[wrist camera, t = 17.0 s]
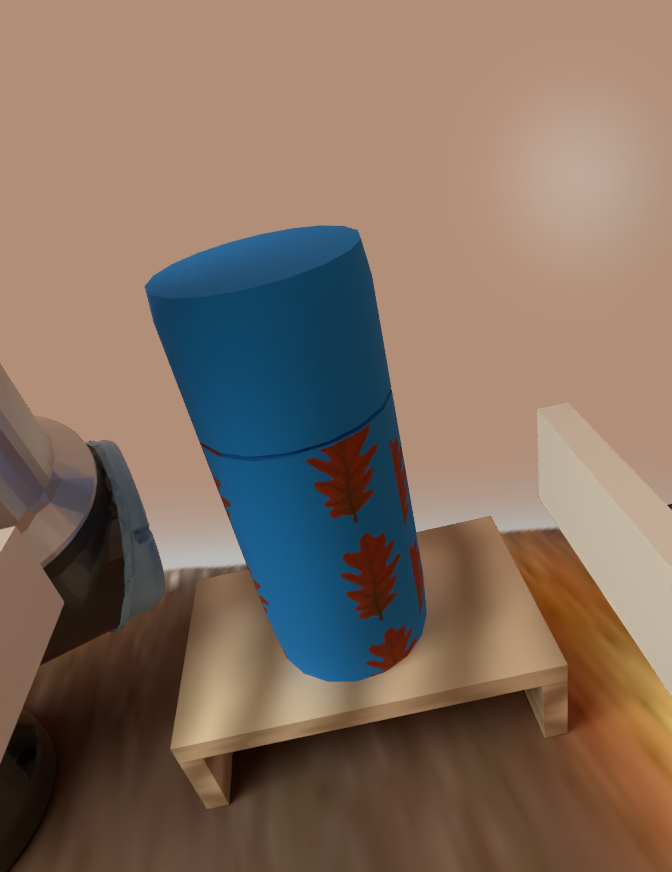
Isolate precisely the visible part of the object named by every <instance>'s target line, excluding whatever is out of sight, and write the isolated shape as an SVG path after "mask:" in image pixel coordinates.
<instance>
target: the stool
mask: <svg viewBox="0 0 672 872" xmlns="http://www.w3.org/2000/svg"><path fill="white" fill-rule="evenodd" d="M416 534H417V540H418V546H419V552H420V558H421V563H422V569H423V577H424V588H425V599H426V609H427V615H426V619H425V624H424V628H423V633H422V636H421V637H420V639H419V640H418V641H417V643H416V644H415V646H414V647H413V649H412V650H411V651H410V653H409V654H408V656H407V657H405V658H404V659H402V660H401V661H400V662H398V663H397V664H395V665H394V666H393V667H391V668H390V669H388V670H387V671H386V672H384V673H381V674H378V675H375V676H372V677H369V678H366V679H363V680H360V681H356V682H327V681H324V680H322V679H319V678H316V677H313V676H310V675H307V674H304V673H303V672H302V671H300V670H299V669H298V668H297V667H296V666H295V665H294V664H293V663H291V662H290V661H289V660H288V659H287V658H286V656H285V654H284V652H283V649H282V647H281V645H280V643H279V641H278V639H277V637H276V635H275V633H274V631H273V629H272V626H271V624H270V622H269V620H268V618H267V615H266V613H265V610H264V608H263V605H262V603H261V600H260V598H259V595H258V593H257V590H256V587H255V585H254V582H253V580H252V577H251V574H250V572H249V569H248V570H243V571H238V572H234V573H229V574H225V575H220V576H216V577H211V578H207V579H202V580H197V584H196V591H195V597H194V603H193V609H192V616H191V622H190V628H189V635H188V641H187V647H186V653H185V660H184V666H183V672H182V679H181V685H180V691H179V697H178V704H177V710H176V716H175V723H174V729H173V735H172V741H171V748H170V750H171V751H172V753H173V755H174V756H175V758H176V760H177V761H178V763H179V764H180V766H181V768H182V769H183V771H184V773H185V774H186V776H187V777H188V779H189V781H190V782H191V784H192V785H193V787H194V789H195V790H196V792H197V794H198V795H199V797H200V798H201V800H202V802H203V803H204V805H205V807H206V808H207V809H211V808H215V807H220V806H225V805H229V802H230V786H231V771H232V755H233V752H234V751H239V750H243V749H248V748H253V747H257V746H262V745H267V744H272V743H276V742H281V741H286V740H290V739H295V738H300V737H305V736H309V735H314V734H319V733H323V732H328V731H333V730H338V729H342V728H347V727H352V726H356V725H361V724H366V723H371V722H375V721H380V720H385V719H389V718H394V717H399V716H403V715H408V714H413V713H418V712H422V711H427V710H432V709H436V708H441V707H446V706H451V705H455V704H460V703H465V702H469V701H474V700H479V699H484V698H488V697H493V696H498V695H502V694H507V693H512V692H517V691H521V690H524V691H525V693H526V695H527V698H528V700H529V702H530V705H531V707H532V710H533V712H534V714H535V717H536V719H537V721H538V724H539V726H540V728H541V731H542V733H543V736H544V738H548V737H553V736H558V735H563V734H567V730H568V664H567V662H566V660H565V658H564V656H563V654H562V652H561V650H560V648H559V647H558V645H557V643H556V641H555V639H554V637H553V635H552V633H551V631H550V629H549V627H548V625H547V623H546V621H545V620H544V618H543V616H542V614H541V612H540V610H539V608H538V606H537V604H536V602H535V600H534V598H533V596H532V594H531V593H530V591H529V589H528V587H527V585H526V583H525V581H524V579H523V577H522V575H521V573H520V571H519V569H518V567H517V565H516V564H515V562H514V560H513V558H512V556H511V554H510V552H509V550H508V548H507V546H506V544H505V542H504V540H503V538H502V537H501V535H500V533H499V531H498V529H497V527H496V525H495V523H494V521H493V519H492V517H491V516H489V517H484V518H480V519H475V520H471V521H466V522H461V523H457V524H452V525H448V526H444V527H439V528H434V529H429V530H425V531H421V532H416Z"/></svg>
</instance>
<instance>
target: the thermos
mask: <svg viewBox="0 0 672 872" xmlns="http://www.w3.org/2000/svg"><path fill="white" fill-rule="evenodd" d="M145 289H146V293H147V297H148V301H149V305H150V309H151V314H152V317H153V322H154V324H155V327H156V330H157V332H158V335H159V337H160V340H161V342H162V345H163V348H164V351H165V353H166V356H167V358H168V361H169V364H170V366H171V369H172V371H173V374H174V376H175V379H176V382H177V384H178V387H179V389H180V392H181V395H182V397H183V400H184V403H185V405H186V408H187V410H188V413H189V416H190V418H191V421H192V423H193V426H194V428H195V431H196V434H197V436H198V439H199V441H200V444H201V447H202V449H203V452H204V454H205V457H206V460H207V462H208V465H209V468H210V470H211V473H212V475H213V478H214V480H215V483H216V486H217V489H218V491H219V493H220V496H221V499H222V502H223V504H224V507H225V509H226V512H227V514H228V517H229V520H230V522H231V525H232V527H233V530H234V533H235V535H236V538H237V541H238V543H239V546H240V548H241V551H242V553H243V556H244V559H245V561H246V564H247V567H248V569H249V572H250V574H251V577H252V580H253V582H254V585H255V587H256V590H257V593H258V595H259V598H260V600H261V603H262V605H263V608H264V610H265V613H266V615H267V618H268V620H269V622H270V624H271V626H272V629H273V631H274V633H275V635H276V637H277V639H278V641H279V643H280V645H281V647H282V649H283V652H284V654H285V656H286V658H287V659H288V660H289V661H290V662H291V663H293V664H294V665H295V666H296V667H297V668H298V669H299V670H300V671H302V672H303V673H304V674H307V675H310V676H313V677H316V678H319V679H322V680H324V681H327V682H356V681H360V680H363V679H366V678H369V677H372V676H375V675H378V674H381V673H384V672H386V671H387V670H388V669H390V668H391V667H393V666H394V665H395V664H397V663H398V662H400V661H401V660H402V659H404V658H405V657H407V656H408V654H409V653H410V651H411V650H412V649H413V647H414V646H415V644H416V643H417V641H418V640H419V639H420V637H421V636H422V633H423V628H424V624H425V619H426V615H427V609H426V599H425V588H424V577H423V569H422V563H421V558H420V552H419V546H418V540H417V534H416V529H415V523H414V517H413V511H412V505H411V499H410V494H409V488H408V482H407V476H406V471H405V465H404V459H403V453H402V447H401V441H400V436H399V430H398V424H397V418H396V412H395V407H394V401H393V395H392V390H391V383H390V378H389V372H388V366H387V360H386V355H385V349H384V343H383V337H382V331H381V325H380V320H379V314H378V308H377V302H376V296H375V290H374V285H373V279H372V274H371V271H370V267H369V264H368V261H367V257H366V254H365V251H364V248H363V244H362V241H361V238H360V235H359V232H358V230H355V229H351V228H348V227H345V226H312V227H302V228H293V229H287V230H282V231H277V232H271V233H266V234H260V235H256V236H253V237H249V238H245V239H241V240H237V241H233V242H229V243H227V244H223V245H220V246H218V247H214V248H211V249H208V250H206V251H202V252H199V253H197V254H194V255H192V256H190V257H188V258H185V259H183V260H181V261H178V262H176V263H174V264H172V265H170V266H168V267H167V268H165V269H164V270H162V271H160V272H159V273H157V274H155V275H154V276H153V277H152V278H151V279H150V280H149V282H148V283H147V284H146V285H145Z"/></svg>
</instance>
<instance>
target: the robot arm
mask: <svg viewBox="0 0 672 872" xmlns="http://www.w3.org/2000/svg"><path fill="white" fill-rule="evenodd" d="M537 432H538V433H537V438H538V486H539V487H538V488H539V489H538V491H539V499H540V500H541V502H542V503H543V505H544V506H545V507H546V509H547V511H548V512H549V513H550V515H551V516H552V518H553V519H554V521H555V523H556V524H557V526H558V527H559V529H560V530H561V532H562V533H563V535H564V536H565V538H566V539H567V541H568V542H569V544H570V545H571V547H572V548H573V550H574V551H575V553H576V554H577V556H578V557H579V559H580V560H581V562H582V563H583V565H584V566H585V568H586V569H587V571H588V572H589V574H590V575H591V577H592V578H593V580H594V581H595V583H596V584H597V586H598V587H599V589H600V590H601V592H602V593H603V595H604V596H605V598H606V599H607V601H608V602H609V604H610V605H611V607H612V608H613V610H614V611H615V613H616V614H617V616H618V617H619V619H620V620H621V622H622V623H623V625H624V626H625V628H626V629H627V631H628V632H629V634H630V635H631V637H632V638H633V640H634V641H635V643H636V644H637V646H638V647H639V649H640V650H641V652H642V653H643V655H644V656H645V658H646V659H647V661H648V662H649V664H650V665H651V667H652V668H653V670H654V671H655V673H656V674H657V676H658V677H659V679H660V680H661V682H662V683H663V685H664V686H665V688H666V689H667V691H668V692H669V694H670V695H671V697H672V504H670V505H666V504H665V503H664V501H663V500H661V498H660V497H659V496H658V495H657V494H656V493H655V492H654V491H653V490H652V489H651V488H650V487H649V486H648V485H647V484H646V483H645V482H644V481H643V480H642V479H641V478H640V477H639V476H638V475H637V474H636V473H635V471H634V470H633V469H632V468H631V467H630V466H629V465H628V464H627V463H626V462H625V461H624V460H623V459H622V458H621V457H620V456H619V455H618V454H617V453H616V452H615V451H614V450H613V449H612V448H611V446H610V445H609V444H608V443H607V442H606V441H605V440H604V439H603V438H602V437H601V436H600V435H599V434H598V433H597V432H596V431H595V430H594V429H593V428H592V427H591V426H590V425H589V424H588V423H587V422H586V421H585V420H584V419H583V418H582V417H581V415H579V414H578V412H577V411H576V410H575V409H574V408H573V407H572V406H571V405H570V404H569V403H568V402H567V403H562V404H558V405H554V406H549V407H545V408H540V409H537ZM164 590H165V576H164V571H163V567H162V563H161V559H160V556H159V552H158V549H157V546H156V543H155V540H154V537H153V535H152V532H151V531H150V530H149V523H148V520H147V518H146V514H145V510H144V507H143V504H142V501H141V499H140V496H139V493H138V491H137V488H136V485H135V483H134V480H133V478H132V475H131V473H130V470H129V468H128V466H127V463H126V461H125V459H124V457H123V455H122V453H121V451H120V449H119V448H118V446H117V445H116V444H115V443H114V442H112V441H109V440H102V441H98V442H95V441H89V442H87V443H85V442H84V441H83V440H82V439H81V438H80V436H79V435H78V434H77V433H76V432H75V431H73V430H72V429H70V428H69V427H67V426H66V425H64V424H61V423H59V422H57V421H54V420H51V419H48V418H43V417H38V416H34V415H33V414H32V412H31V411H30V409H29V408H28V406H27V404H26V403H25V401H24V400H23V398H22V397H21V395H20V394H19V392H18V390H17V389H16V387H15V386H14V384H13V383H12V381H11V380H10V378H9V377H8V375H7V373H6V372H5V370H4V369H3V367H2V366H1V364H0V872H7V870H8V869H9V868H10V867H11V865H12V864H13V863H14V862H15V860H16V859H17V858H18V856H19V855H20V853H21V852H22V851H23V849H24V848H25V846H26V845H27V843H28V842H29V840H30V838H31V837H32V835H33V833H34V832H35V830H36V828H37V826H38V824H39V822H40V820H41V818H42V816H43V814H44V812H45V810H46V807H47V805H48V802H49V799H50V796H51V793H52V789H53V785H54V781H55V775H56V753H55V748H54V745H53V742H52V740H51V738H50V736H49V734H48V733H47V732H46V730H45V729H44V728H43V727H42V725H41V724H40V723H39V721H38V720H37V719H36V718H35V717H34V716H33V715H32V714H31V713H30V712H29V711H27V710H26V709H24V708H23V705H24V703H25V700H26V698H27V695H28V693H29V690H30V688H31V685H32V683H33V680H34V678H35V675H36V673H37V670H38V668H39V666H40V665H42V664H44V663H46V662H48V661H50V660H52V659H54V658H56V657H58V656H60V655H62V654H64V653H66V652H68V651H70V650H72V649H74V648H76V647H78V646H80V645H82V644H84V643H86V642H88V641H90V640H92V639H94V638H96V637H98V636H100V635H102V634H104V633H106V632H108V631H109V632H115V631H118V630H120V629H121V628H123V627H124V625H125V624H126V622H128V621H130V620H132V619H134V618H135V617H137V616H139V615H141V614H142V613H144V612H146V611H148V610H149V609H151V608H153V607H154V606H155V605H156V604H157V603H158V602H159V601H160V599H161V598H162V596H163V593H164Z"/></svg>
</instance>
